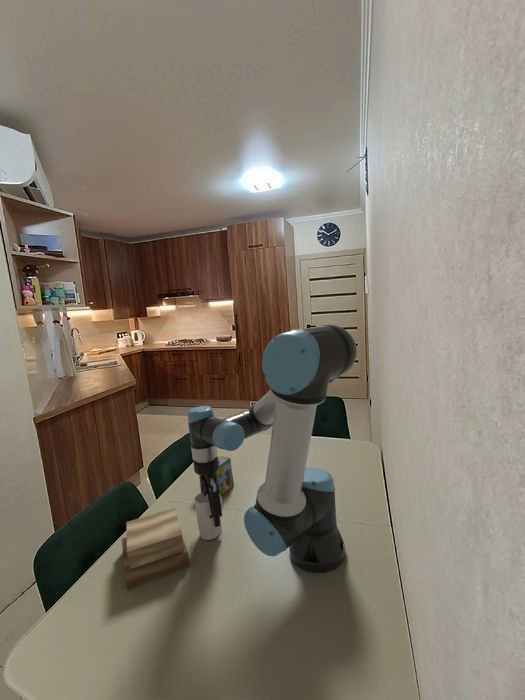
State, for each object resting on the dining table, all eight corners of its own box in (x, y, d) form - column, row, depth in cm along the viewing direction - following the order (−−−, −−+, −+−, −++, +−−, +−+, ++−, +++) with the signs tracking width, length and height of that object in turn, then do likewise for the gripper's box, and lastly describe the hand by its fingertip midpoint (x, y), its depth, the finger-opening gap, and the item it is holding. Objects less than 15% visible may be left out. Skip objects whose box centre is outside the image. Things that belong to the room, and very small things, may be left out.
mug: (210, 543, 102) (205, 505, 101) (194, 536, 106) (189, 499, 105) (232, 524, 110) (228, 489, 109) (217, 518, 114) (212, 484, 113)
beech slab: (184, 550, 94) (182, 534, 93) (129, 569, 89) (126, 552, 88) (176, 522, 107) (174, 507, 106) (128, 537, 102) (126, 522, 101)
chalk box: (234, 485, 134) (230, 449, 132) (219, 498, 127) (215, 459, 125) (216, 481, 139) (212, 446, 137) (200, 492, 132) (196, 455, 130)
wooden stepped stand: (189, 567, 94) (187, 551, 94) (127, 592, 88) (124, 575, 87) (178, 534, 109) (176, 520, 108) (124, 554, 102) (121, 538, 102)
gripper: (228, 466, 97) (236, 541, 100) (208, 444, 115) (215, 508, 118) (202, 474, 94) (211, 551, 97) (185, 450, 112) (194, 516, 115)
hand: (213, 528), depth 107 cm, fingers closed on mug, 6 cm apart
